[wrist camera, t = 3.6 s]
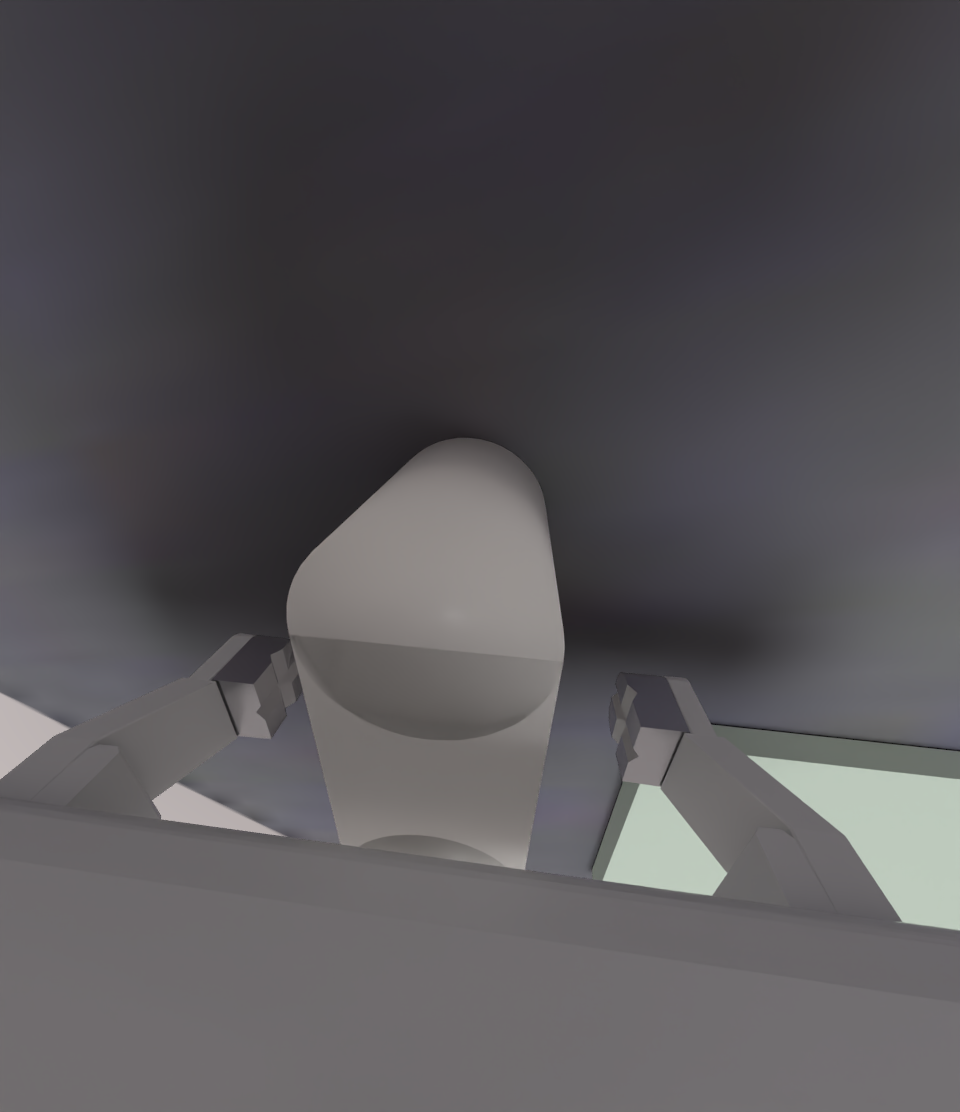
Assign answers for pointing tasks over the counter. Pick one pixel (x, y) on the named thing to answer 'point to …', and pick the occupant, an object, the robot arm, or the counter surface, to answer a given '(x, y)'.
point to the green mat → (836, 795)
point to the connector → (434, 657)
